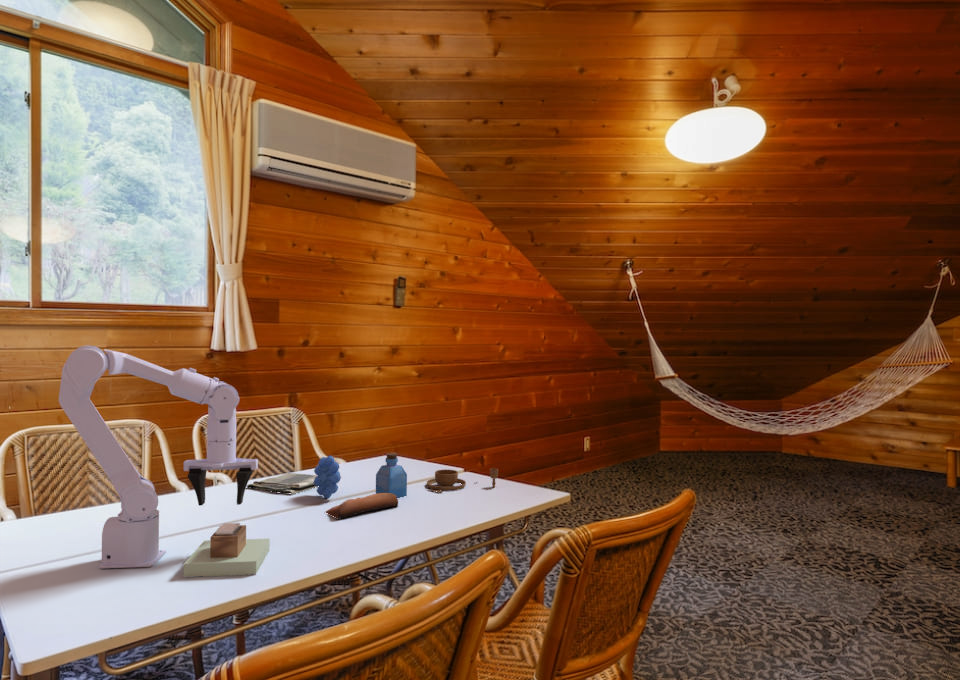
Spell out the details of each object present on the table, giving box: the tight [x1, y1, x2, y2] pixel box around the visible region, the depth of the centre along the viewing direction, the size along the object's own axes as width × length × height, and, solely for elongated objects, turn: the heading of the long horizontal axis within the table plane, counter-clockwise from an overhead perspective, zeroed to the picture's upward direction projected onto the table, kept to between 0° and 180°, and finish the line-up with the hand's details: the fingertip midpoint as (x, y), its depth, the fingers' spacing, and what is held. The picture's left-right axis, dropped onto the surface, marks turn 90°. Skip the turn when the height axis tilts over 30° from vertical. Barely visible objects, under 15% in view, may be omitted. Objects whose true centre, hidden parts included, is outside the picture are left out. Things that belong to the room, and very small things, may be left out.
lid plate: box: [214, 522, 241, 536], centre depth 121 cm, size 3×5×2 cm, turn 6°
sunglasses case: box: [325, 493, 399, 520], centre depth 159 cm, size 18×7×7 cm
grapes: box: [313, 455, 342, 499], centre depth 171 cm, size 12×7×12 cm, turn 46°
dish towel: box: [246, 472, 318, 496], centre depth 184 cm, size 19×18×3 cm
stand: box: [183, 538, 271, 578], centre depth 122 cm, size 13×13×2 cm
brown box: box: [210, 524, 247, 558], centre depth 121 cm, size 5×7×4 cm
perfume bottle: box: [375, 452, 408, 499], centre depth 174 cm, size 6×6×12 cm
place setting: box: [426, 468, 499, 494], centre depth 185 cm, size 18×20×6 cm
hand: (220, 503), depth 130 cm, fingers open, 7 cm apart
